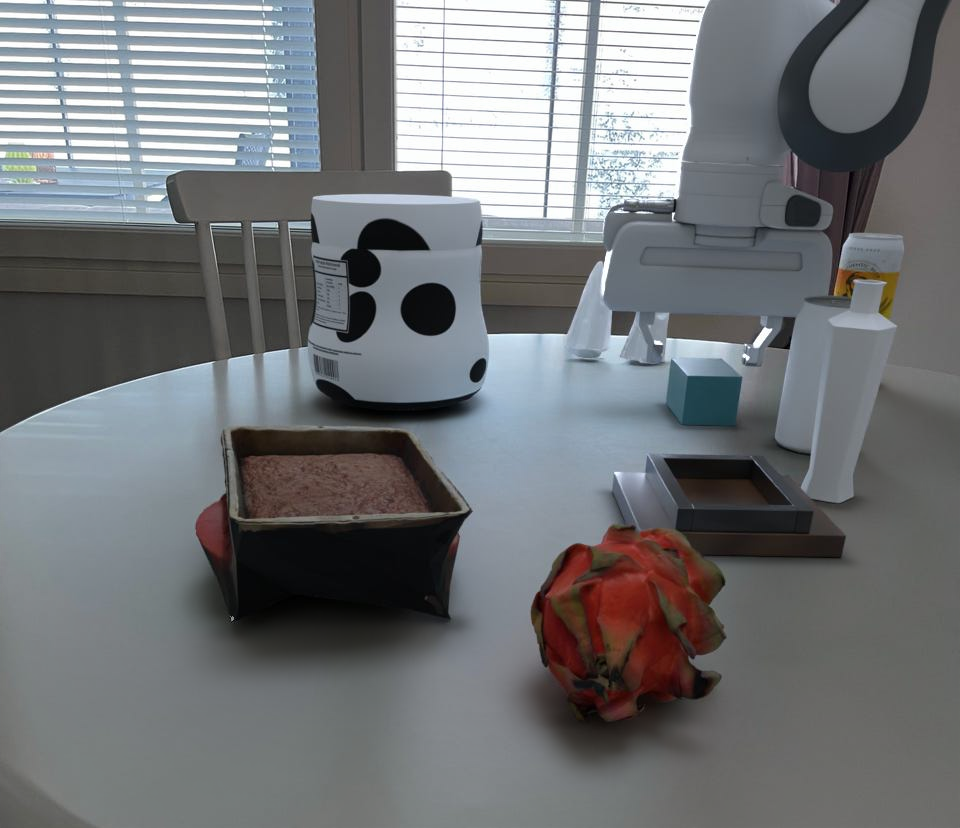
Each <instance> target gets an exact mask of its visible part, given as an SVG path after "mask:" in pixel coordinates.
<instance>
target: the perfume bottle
mask: <svg viewBox="0 0 960 828" xmlns="http://www.w3.org/2000/svg"><path fill="white" fill-rule="evenodd" d="M853 282H854V284H855V285H854V290H853V295H852V300H851V305H850V310H848V311H846V312H844V313H841V314H839V315H837V316H835V317H832V318H830V319H828V323H827V331H826V339H825V347H824V355H823V363H822V371H821V379H820V387H819V395H818V403H817V411H816V419H815V427H814V435H813V443H812V451H811V454H810V457H809V458H810V460H809V468H808V470H807V473H806V474H805V477H804V479H803V481H802V484H801V485H800V488H801V489H802V490H803V491H804V492H805V493H806V494H807V495H808V496H809V497H810V498H811V499H812V500H817V501H822V502H828V503H833V504H840V503H841V504H842V503H843V502H845V501H847V500H849V499H852V498H854V497H855V494H854V493H855V492H854V478H853V477H854V473H855V470H856V467H857V463H858V460H859V456H860V453H861V449H862V445H863V443H864V438H865V436H866V433H867V429H868V426H869V422H870V419H871V416H872V413H873V409H874V406H875V402H876V400H877V396H878V392H879V389H880V386H881V382H882V379H883V376H884V372H885V369H886V365H887V362H888V358H889V356H890V352H891V348H892V345H893V342H894V338H895V336H896V332H897V328H898V325H897V324H895V323H894V322H893V321H891V320H890V319H889V320H888V319H887V318H885V317H884V316H882V315H881V314H880V313H878V311H879V306H880V302H881V297H882V292H883V288H884V286H885V285H886V284H887V282H882V281H876V280H853Z"/></svg>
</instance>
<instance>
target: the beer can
mask: <svg viewBox="0 0 960 828" xmlns="http://www.w3.org/2000/svg"><path fill="white" fill-rule="evenodd" d="M905 249H906V248H905V245H904V235H903V236H902V235H899V234H891V233H876V232H851V233H849V234H848V237H847V239H846V240H845V242H844V243H843V245H842V249H841V255H840V259H839V265H838V271H837V276H836V279H835V280H836V281H835V286H834V291H833V296H845V297H852V295H853V290H854V285H855V284H854V282H853V280H876V281H882V282H887V284H886V285H885V286H884V288H883V292H882V297H881V302H880V306H879V311H878V313H880V314H881V315H882V316H884V317H885V318H887V319H888V320H889V321H890V317H891V313H892V309H893V304H894V300H895V295H896V290H897V285H898V281H899V277H900V271H901V266H902V264H903V263H902V262H903V258H904V254H905Z"/></svg>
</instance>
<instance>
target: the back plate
mask: <svg viewBox="0 0 960 828" xmlns="http://www.w3.org/2000/svg"><path fill="white" fill-rule="evenodd" d="M645 460H646V461H645V470H644V472H643V471H642V472H639V471H637V472H636V471H635V472H632V471H614V472H613V477H612V478H613V480H612V493H613V495H614V498H615V501H616V503H617V506H618V508H619V510H620V513H621V515H622V518H623V521H624V523H625V525H634V526H635V527H636V530H637V531H638V533H640V532H641V531H644V530H646V529H650V528H666V529H675V530H677V531H679V532H680V533H682V534H683V535H685V536H686V538H687V540H688V541H689V543H690V545H691V547H692V548H693V549H695V550H696V551H698V552H700V553H701V554H702V555H703V556H747V557H748V556H751V557H752V556H753V557H754V556H755V557H760V556H761V557H804V558H805V557H809V558H810V557H813V558H842V556H843V552H844V548H845V542H846V540H847V539H846V538H847V535H846V534H845V533H844V532H843V531H842V529H840V528H839V527H838V525H836V523H835V522H834V521H833V520H832V519H831V518H830V517H829V516H828V515H827V514H826V513H825V512H824V511H823V510H822V508H821V507H820V506H819V505H818V504H817V503H816V502H815V501H814V499H811V498H810V497H809V496H808V495H807V494H806V493H805V492H804V491H803V490H802V489H801V486H800V485H799V484H798V483H797V482H796V481H795V480H794V479H793V478H792V476H790V475H789V474H781V473H779V471H778V470H776V468H775V467H774V466H773V465H772V464H771V463H770V462H769V461H768V460H767V459H766V458H765V456H763V455H743V454H741V455H739V454H738V455H737V454H734V455H733V454H693V453H691V454H689V453H688V454H687V453H686V454H685V453H684V454H683V453H647V454H646V459H645Z"/></svg>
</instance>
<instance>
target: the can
mask: <svg viewBox="0 0 960 828" xmlns="http://www.w3.org/2000/svg"><path fill="white" fill-rule="evenodd" d="M851 300H852V297H845V296H834V295H828V296H809V297H805V298H804V301H805V303H804V305H803V307H802V309H801V310H800V312H799V313H798V315H797V317H795V319H794V324H793V330H792V335H791V340H790V346H789V352H788V357H787V361H786V362H787V363H786V369H785V373H784V378H783V379H784V380H783V385H782V392H781V397H780V403H779V409H778V413H777V419H776V420H777V421H776V427H775V433H774V439H775V441H776V442H777V445H779V446H780V447H782V448H783V449H786V450H787V451H788V450H789V451H792V452H794V453H798V454H805V455H811V451H812V443H813V435H814V427H815V419H816V411H817V403H818V395H819V387H820V379H821V371H822V363H823V355H824V347H825V339H826V331H827V323H828V319H830V318H832V317H835V316H837V315H839V314H841V313H844V312H846V311H848V310H850V305H851Z"/></svg>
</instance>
